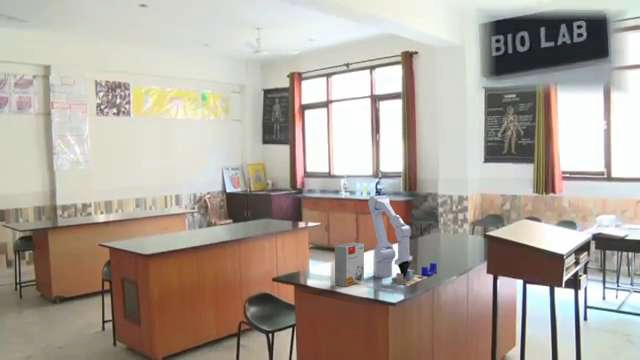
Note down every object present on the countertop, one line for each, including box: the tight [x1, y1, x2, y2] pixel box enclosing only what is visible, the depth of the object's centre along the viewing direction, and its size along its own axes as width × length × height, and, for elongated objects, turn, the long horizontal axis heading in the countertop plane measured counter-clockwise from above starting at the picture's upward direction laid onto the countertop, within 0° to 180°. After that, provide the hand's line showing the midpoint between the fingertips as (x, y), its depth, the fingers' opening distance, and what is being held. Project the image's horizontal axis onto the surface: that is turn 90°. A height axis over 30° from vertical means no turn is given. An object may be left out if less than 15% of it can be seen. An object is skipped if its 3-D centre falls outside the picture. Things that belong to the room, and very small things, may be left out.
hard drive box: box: [334, 242, 365, 288], centre depth 256 cm, size 16×8×20 cm, turn 138°
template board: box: [390, 269, 428, 287], centre depth 257 cm, size 22×10×6 cm, turn 141°
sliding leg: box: [405, 268, 414, 282], centre depth 256 cm, size 3×5×5 cm, turn 51°
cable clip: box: [421, 262, 438, 278], centre depth 269 cm, size 12×4×6 cm, turn 142°
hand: (403, 276), depth 253 cm, fingers closed
